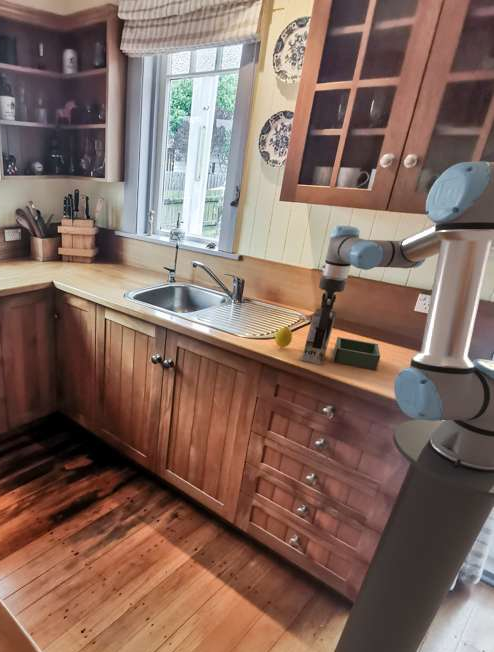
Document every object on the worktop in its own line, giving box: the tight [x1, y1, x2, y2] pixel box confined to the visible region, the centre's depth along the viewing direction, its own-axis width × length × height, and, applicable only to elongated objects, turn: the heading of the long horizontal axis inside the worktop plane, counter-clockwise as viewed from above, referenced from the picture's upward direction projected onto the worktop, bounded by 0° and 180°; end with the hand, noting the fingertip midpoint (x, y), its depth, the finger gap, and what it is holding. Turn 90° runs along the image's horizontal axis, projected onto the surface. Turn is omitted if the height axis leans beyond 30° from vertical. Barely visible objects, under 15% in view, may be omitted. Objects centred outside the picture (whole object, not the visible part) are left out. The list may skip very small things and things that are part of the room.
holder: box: [333, 336, 381, 371], centre depth 159 cm, size 12×13×5 cm
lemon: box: [274, 326, 293, 349], centre depth 164 cm, size 6×6×8 cm
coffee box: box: [301, 308, 337, 365], centre depth 155 cm, size 9×6×16 cm
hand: (317, 342), depth 157 cm, fingers closed on coffee box, 9 cm apart
